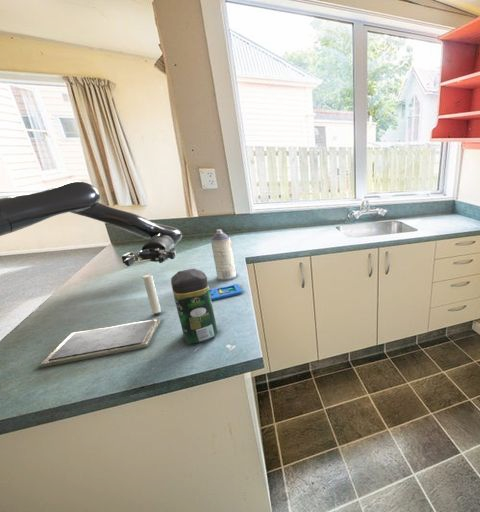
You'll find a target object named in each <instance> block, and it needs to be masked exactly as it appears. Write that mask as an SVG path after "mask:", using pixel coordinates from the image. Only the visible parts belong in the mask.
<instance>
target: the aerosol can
mask: <svg viewBox="0 0 480 512" xmlns="http://www.w3.org/2000/svg"><path fill="white" fill-rule="evenodd" d="M210 245H211V249H212V255H213V261H214V266H215V273H216V277H217V281H221V282H225V281H230V280H232V279H233V280H234V279H235V278H236V277H237V273H236V266H235V261H234V260H235V259H234V255H233V248H232V241H231V238H230V235H227V233H225V232H224V231H223V229H216V233H214V235H212V237H210Z"/></svg>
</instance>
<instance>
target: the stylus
mask: <svg viewBox="0 0 480 512" xmlns="http://www.w3.org/2000/svg"><path fill="white" fill-rule="evenodd" d="M142 278H143V282H144V287H145V290H146V294H147V298H148V302H149V306H150V310H151V313H152V314H153V316H155V317H157V316H160V315H161V314H162V313H161V312H162V309H161V305H160V300H159V297H158V293H157V289H156V288H157V287H156V286H155V281H154V277H153V275H152V274H146V275H143V276H142Z"/></svg>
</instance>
